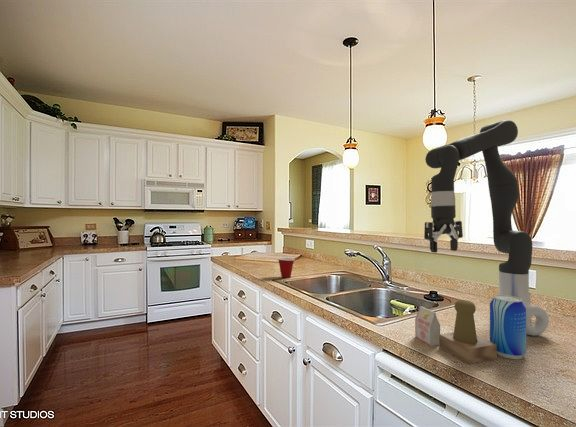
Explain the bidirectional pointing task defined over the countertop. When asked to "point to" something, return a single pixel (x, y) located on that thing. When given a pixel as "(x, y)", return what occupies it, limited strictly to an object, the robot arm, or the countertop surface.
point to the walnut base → (468, 349)
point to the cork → (465, 322)
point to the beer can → (508, 326)
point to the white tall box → (427, 326)
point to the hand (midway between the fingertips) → (444, 251)
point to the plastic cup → (286, 266)
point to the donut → (540, 322)
